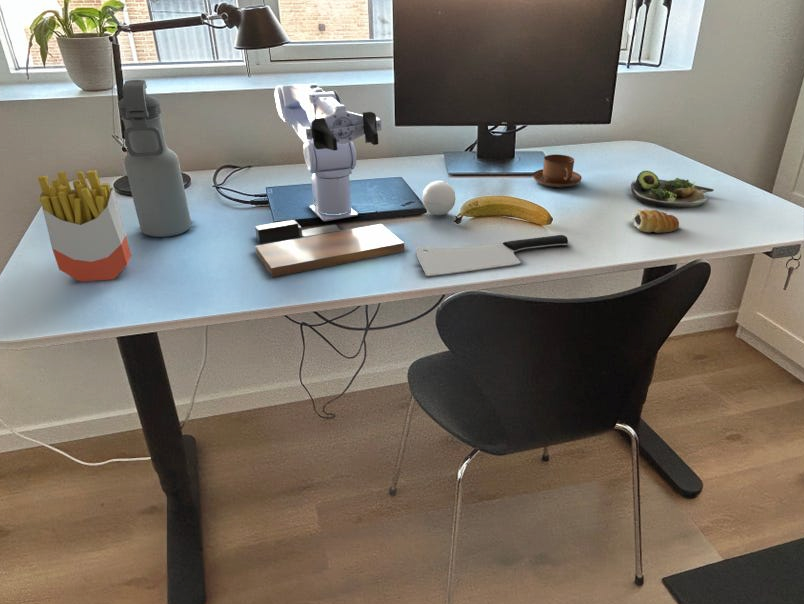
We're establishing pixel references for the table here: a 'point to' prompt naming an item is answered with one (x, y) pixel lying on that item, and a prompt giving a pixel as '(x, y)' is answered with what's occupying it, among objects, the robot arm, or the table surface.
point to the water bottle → (152, 165)
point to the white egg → (438, 198)
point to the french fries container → (84, 227)
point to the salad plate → (667, 191)
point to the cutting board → (328, 249)
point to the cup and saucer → (557, 172)
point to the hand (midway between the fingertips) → (355, 141)
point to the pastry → (655, 221)
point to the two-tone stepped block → (288, 231)
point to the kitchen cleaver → (480, 255)
